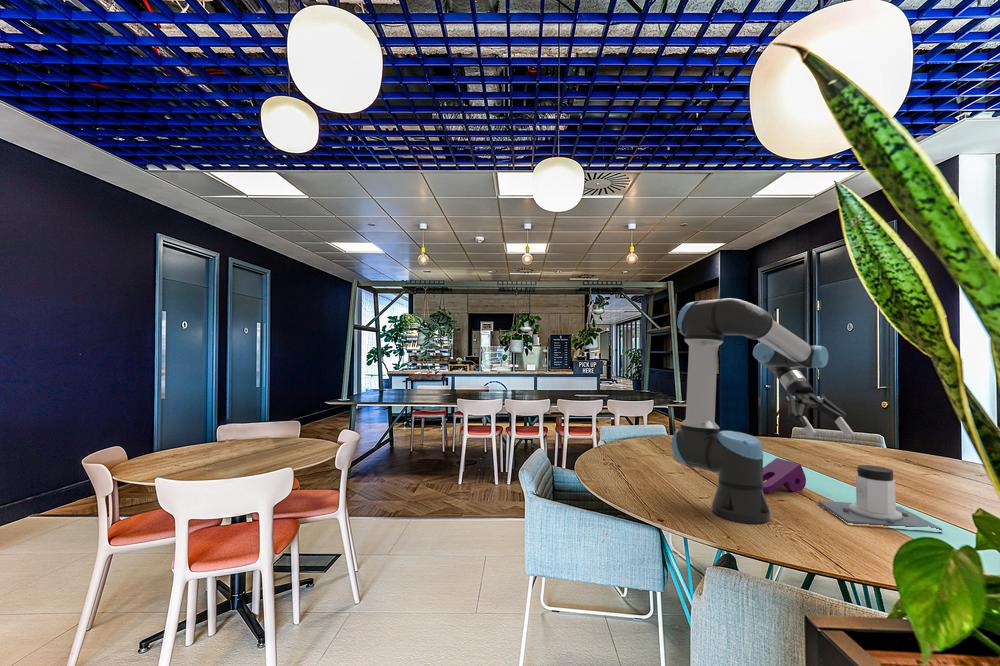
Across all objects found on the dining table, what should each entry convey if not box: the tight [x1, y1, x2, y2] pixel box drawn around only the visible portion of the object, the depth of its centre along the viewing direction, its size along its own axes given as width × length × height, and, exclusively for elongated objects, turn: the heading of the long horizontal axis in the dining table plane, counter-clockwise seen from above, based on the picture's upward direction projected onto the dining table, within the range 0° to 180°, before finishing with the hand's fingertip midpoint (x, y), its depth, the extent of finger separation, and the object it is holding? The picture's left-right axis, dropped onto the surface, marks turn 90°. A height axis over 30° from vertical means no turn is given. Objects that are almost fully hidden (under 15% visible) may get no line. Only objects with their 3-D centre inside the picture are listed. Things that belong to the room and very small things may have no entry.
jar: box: [855, 464, 897, 515], centre depth 133 cm, size 9×8×12 cm
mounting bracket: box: [763, 457, 807, 494], centre depth 160 cm, size 9×8×18 cm
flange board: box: [817, 500, 943, 531], centre depth 133 cm, size 22×18×2 cm
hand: (831, 435), depth 150 cm, fingers open, 13 cm apart
